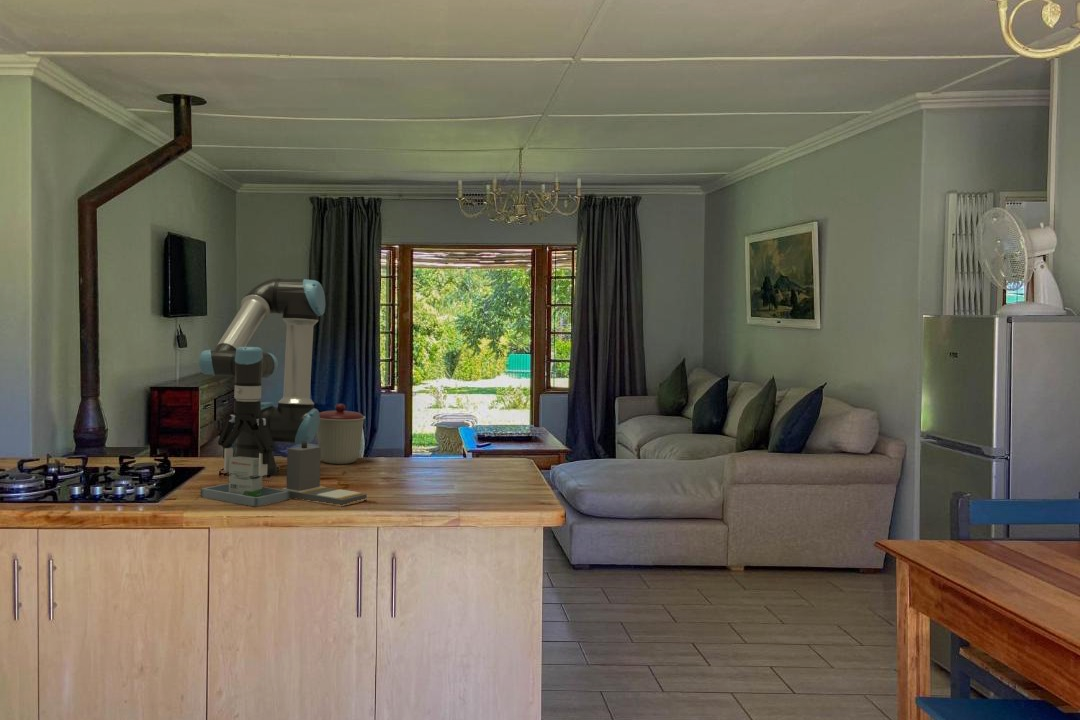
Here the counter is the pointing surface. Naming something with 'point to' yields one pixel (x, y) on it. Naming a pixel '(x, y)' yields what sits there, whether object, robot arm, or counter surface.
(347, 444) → the canister
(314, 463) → the dark grey tall block
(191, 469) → the counter surface
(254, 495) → the ink box
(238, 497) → the tray
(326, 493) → the board with cream panels
